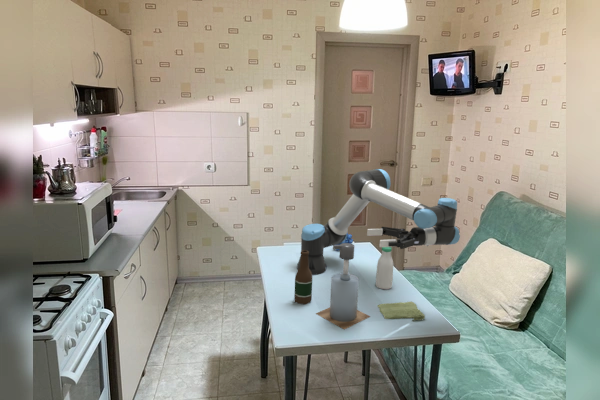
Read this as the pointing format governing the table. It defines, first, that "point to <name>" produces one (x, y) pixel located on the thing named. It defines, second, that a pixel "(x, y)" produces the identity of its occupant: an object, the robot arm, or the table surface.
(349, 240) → the grapes
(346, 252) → the pump plunger
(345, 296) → the soap dispenser
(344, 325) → the walnut board
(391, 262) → the milk bottle
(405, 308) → the washcloth
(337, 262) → the table surface
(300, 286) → the beer bottle
